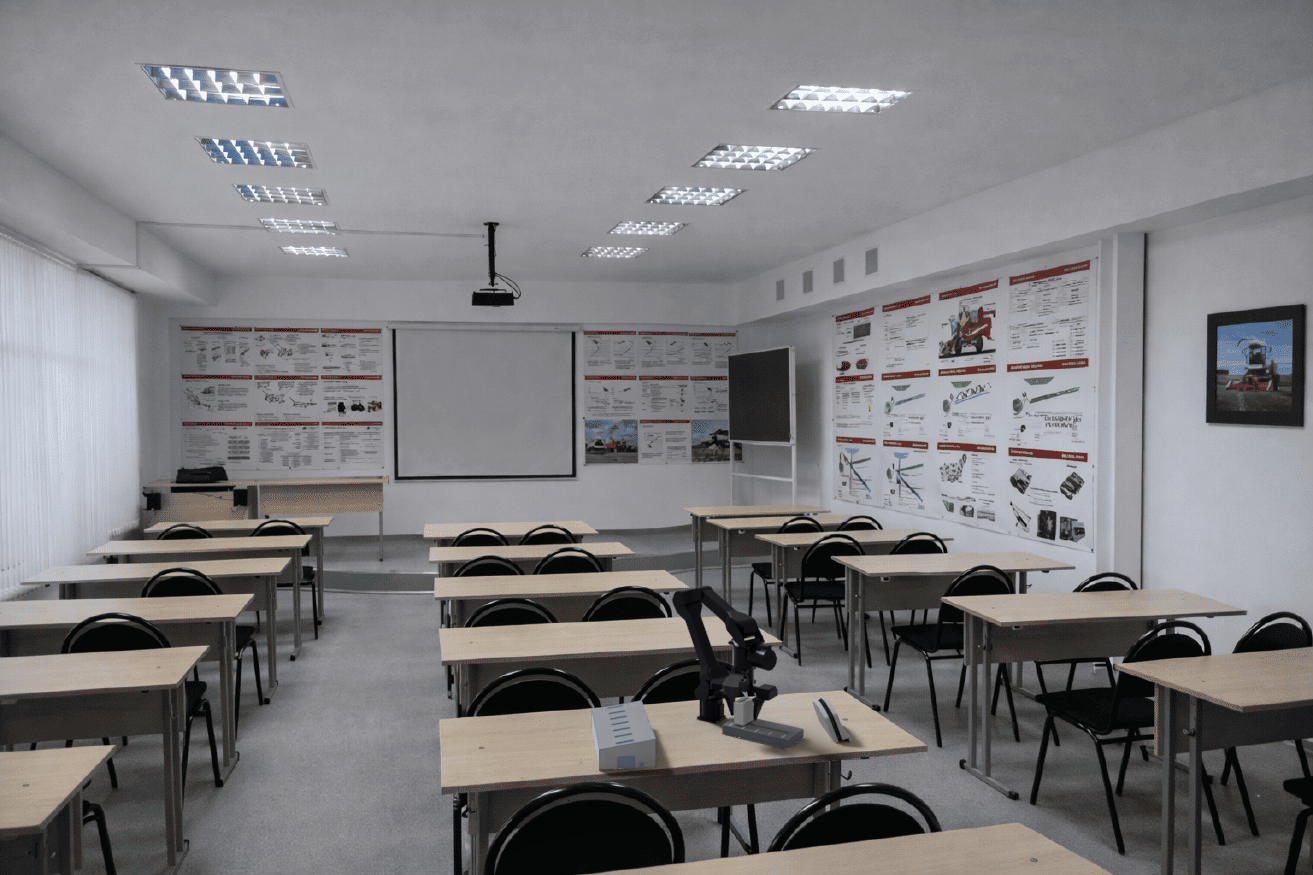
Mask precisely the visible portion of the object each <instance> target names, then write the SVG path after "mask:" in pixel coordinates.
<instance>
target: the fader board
mask: <svg viewBox="0 0 1313 875" xmlns="http://www.w3.org/2000/svg"><path fill="white" fill-rule="evenodd" d="M721 729H722V730H721V731H722V733H721V734H722V735H726V736H729V735H730V737H734V736H736V737H735V738H738V737H740V738H739V739H742V738H743V739H742V740H746V739H747V741H751V742H756V743H759V742H760V743H759V744H763V743H764V745H767V746H771V745H772V747H776V748H781V749H784V748H786V749H785V750H789V749H790V748H791V747H793V746H794V745H796V744H797V743H799V742H800V741H801V740H802V738H803V737H804V735H805V734H804V733H805V732H804V730H805V729H804V728H802V727H796V726H792V725H788V724H784V723H778V722H775V721H769V720H765V719H759V718H757V720H756V721H754V719H753V720H752V721H750V722H749V723H747V724H745V725H744V726H742V725H738V724H734V717H733V718H732V719H730V720H729V721H727V722H725V723H724V724H722V728H721ZM803 739H804V738H803ZM796 742H797V743H796ZM788 748H789V749H788Z"/></svg>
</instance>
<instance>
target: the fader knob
mask: <svg viewBox="0 0 1313 875" xmlns="http://www.w3.org/2000/svg"><path fill="white" fill-rule="evenodd" d="M753 698H754V697H749V696H748V697H747V696H742V697H741V698H739V699H737V700H735V702H734V715H733V718H734V724H738V725H742V726H744V725H745V724H747V723H749V722H750V721H752V720H753V708H754V703H753V701H752V699H753Z"/></svg>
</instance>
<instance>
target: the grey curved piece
mask: <svg viewBox="0 0 1313 875" xmlns="http://www.w3.org/2000/svg"><path fill="white" fill-rule="evenodd" d="M812 705H813V708H814V711H815V715H816V717H817V719H818V722H819V723H820V725H821V727H822V728H823V729H824V731H825V732H826V733H827V736H828V737H829V738H830V739H831V740H832V742H833V743H834V742H836V743H839V740H842V741H844V740H846V739H847V740H848V741H849V743H852V742H853V741H852V738H851V736H850V734H849V733H848V732H847V731H846V729H845V728H844V727H843V726H842V723H841V720H840V718H839V715H838V713H837V711H836V710H835V707H834V706H833V705H832V703H831V702H830V700H829V699H828V698H827V697H826V696H823V697H820V698H819V699H818V698H817V699H814V700H813V701H812Z"/></svg>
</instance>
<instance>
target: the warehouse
mask: <svg viewBox="0 0 1313 875" xmlns="http://www.w3.org/2000/svg"><path fill="white" fill-rule="evenodd" d="M647 714H648V713H647V711H646V709H645V706H644V703H643V701H642V700H641V699H640V700H637V701H630V702H625V703H620V704H616V705H609V706H605V707H603V706H602V707H597V708H593V709H591V731H592V737H593V736H594V737H593V742H595V743H594V746H595V753H596V759H597V764H598V770H599V771H601V770H600V769H614V770H620V769H619V768H623V769H624V768H627V769H639V768H638V767H643V769H645V768H644V767H648V768H657V737H656V735H655V732H654V730H653V728H652V724H651V722H650V719H649V716H648V715H647ZM623 769H622V770H623Z"/></svg>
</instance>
